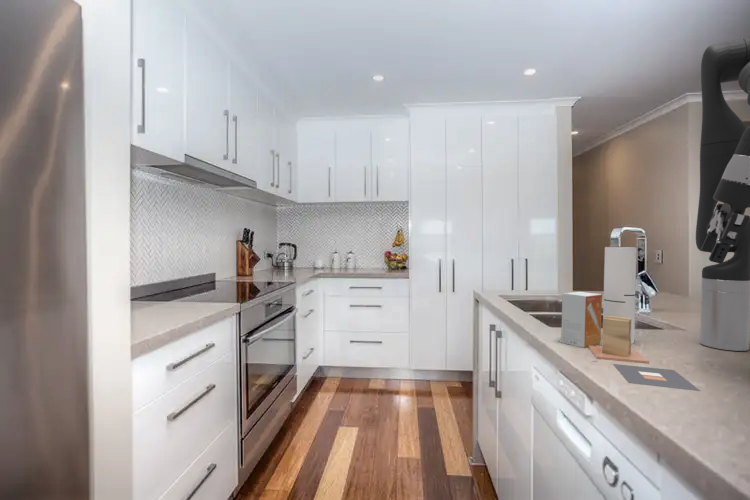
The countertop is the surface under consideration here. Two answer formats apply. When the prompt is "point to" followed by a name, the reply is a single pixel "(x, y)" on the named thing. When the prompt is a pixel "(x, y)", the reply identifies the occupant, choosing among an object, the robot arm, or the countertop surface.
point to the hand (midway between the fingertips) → (710, 256)
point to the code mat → (654, 377)
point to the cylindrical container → (620, 284)
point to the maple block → (616, 336)
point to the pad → (632, 357)
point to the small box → (581, 319)
